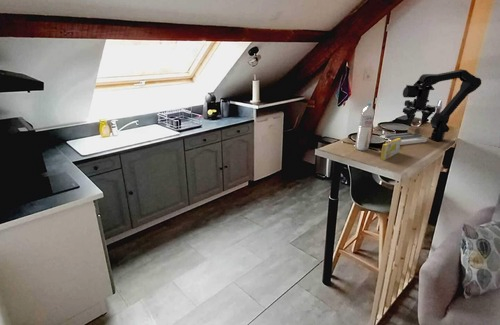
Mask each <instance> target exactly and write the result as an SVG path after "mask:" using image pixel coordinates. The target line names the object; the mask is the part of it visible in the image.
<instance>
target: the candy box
mask: <svg viewBox="0 0 500 325" xmlns="http://www.w3.org/2000/svg"><path fill="white" fill-rule="evenodd" d="M400 143H401V138H397V139H394V140H392V141H390V142H388V143H386V142H384V143H383V144H382V147H381V152H380V153H381V154H380V160H381V161H385V160H387V159H389V158H392V157H393V156H395V155H397V154H400V153H399V152H400V148H401V145H400Z"/></svg>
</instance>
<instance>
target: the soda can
mask: <svg viewBox="0 0 500 325" xmlns="http://www.w3.org/2000/svg"><path fill="white" fill-rule="evenodd" d="M373 133H374V124H373V125H372V131H371V136H370V141H369V142H370V143H371V142H372V138H373V137H372V136H373Z"/></svg>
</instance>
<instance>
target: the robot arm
mask: <svg viewBox="0 0 500 325" xmlns="http://www.w3.org/2000/svg"><path fill="white" fill-rule="evenodd" d="M454 79H455V80H457V79H459V80H460V81H461V84H460V86H459V90H458V91H457V92H456V94H455V95H454V96H453V97H452V98H451V99H450V101H448V104H446V106H445V107H444V108H443V109H442V110H441V111H439V112H436V107H435V106H432V105H427V103H429V102H430V100H429V95H430V91H434V90H435V88H434V87H433V85H436V84H438V83H440V82H444V81H449V80H454ZM481 85H482V79H481V78H480V77H476V75H473V74H471V73H470V72H469V71H468V70H466V69H462V68H461V69H457V70H452V71H448V72H440V73H424V74H422V75H421V74H420V76H419V78H418V80H416V81H415V83H414V84H412V85H411V84H406V86H405V87H404V88H403V90H402V97H403V98H414V99H413V101H411V100H410V99H408V100H406V99H405V101H404V104H403V105H404V106H405V107H404V108H402V113H404V115H406V118H407V121H408V122H407V124H408V125H409V126H412V123H413V122H414V119H415V117H416V113H417V112H421V114H422V115H421V118H420V124H422V125H423V124H424V123H425V122H426V120H427V119H429V117H430V121H429V122H430V125H431V129H433V130H432V132H431V135H430V136H429V137H428V139H429V140H432V141H434V142H437V143H438V142H445V141H446V139H444V138H445V135H446V133H448V132H449V131H450V127H449V126H448V125H447V124H448V123H449V121H450V117H451V115H452V114H453V113H454V112H455V110H456V109H457V108H458V106H460V104H461V103H462V102H463V101H464V100H465V99H466V97H467V96H469V94H471V93H473V92H475V91H477V89H479V87H481ZM431 115H432V117H431Z"/></svg>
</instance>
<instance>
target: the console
mask: <svg viewBox="0 0 500 325" xmlns="http://www.w3.org/2000/svg"><path fill="white" fill-rule="evenodd" d="M379 136H380V137H382V138H385V139H388V140H391V141H392V140H394V139H397V138H401V143H400V146H403V145H411V144H420V143H426V142H427V141H428V137H424V136H423V134H421V133H419V134H412V135H411V133H409V132H402V133H401V132H400V133H394V134H384V135H383V134H382V135H379Z"/></svg>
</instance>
